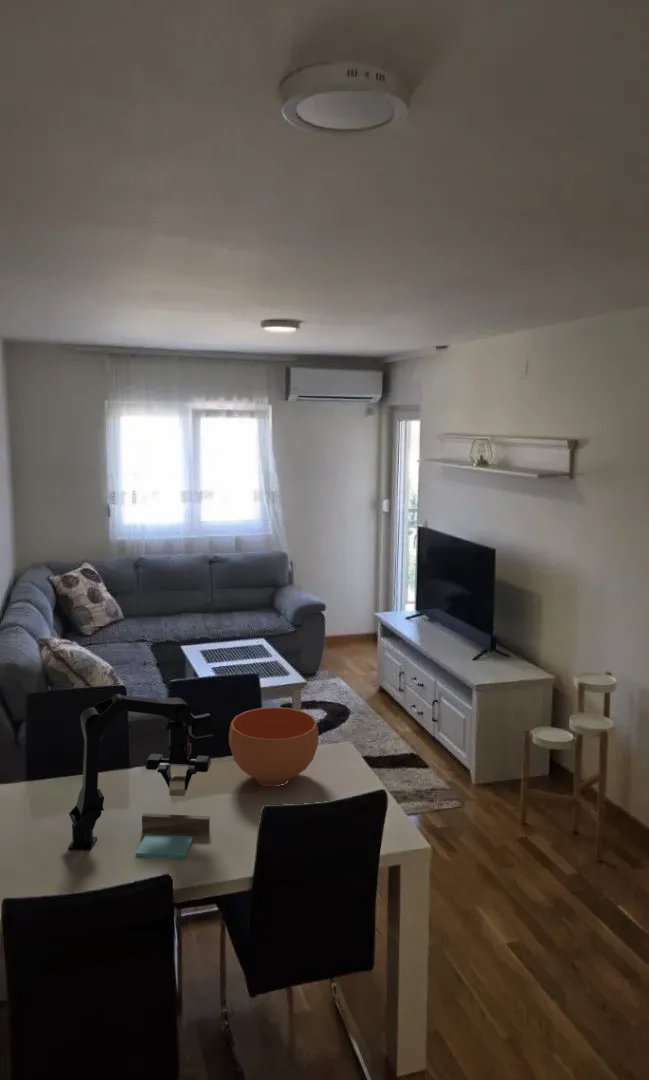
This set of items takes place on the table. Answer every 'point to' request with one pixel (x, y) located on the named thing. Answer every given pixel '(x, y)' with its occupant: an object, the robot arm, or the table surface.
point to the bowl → (273, 743)
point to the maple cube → (177, 785)
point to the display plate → (164, 846)
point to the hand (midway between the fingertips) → (178, 789)
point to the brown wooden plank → (176, 824)
